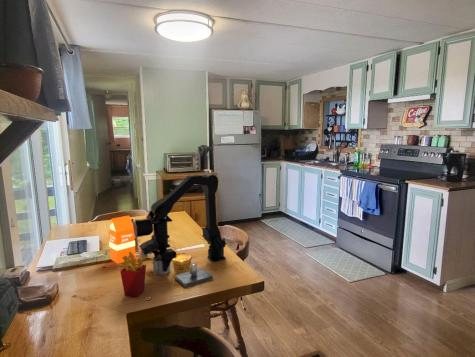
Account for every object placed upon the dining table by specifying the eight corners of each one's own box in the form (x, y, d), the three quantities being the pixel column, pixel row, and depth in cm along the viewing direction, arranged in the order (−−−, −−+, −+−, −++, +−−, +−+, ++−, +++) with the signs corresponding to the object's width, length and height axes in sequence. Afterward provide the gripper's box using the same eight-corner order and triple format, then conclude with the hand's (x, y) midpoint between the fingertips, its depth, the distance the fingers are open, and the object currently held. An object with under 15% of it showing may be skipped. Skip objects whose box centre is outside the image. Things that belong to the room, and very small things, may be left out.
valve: (137, 260, 139) (163, 260, 139) (136, 247, 138) (162, 246, 139) (141, 255, 146) (166, 254, 146) (140, 242, 145) (165, 241, 145)
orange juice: (136, 258, 142) (133, 216, 139) (117, 263, 135) (115, 220, 133) (127, 253, 147) (125, 213, 145) (110, 259, 141) (107, 217, 138)
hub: (166, 266, 132) (166, 253, 131) (172, 272, 126) (172, 258, 126) (151, 270, 128) (150, 257, 127) (157, 276, 123) (156, 262, 122)
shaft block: (202, 271, 127) (201, 257, 127) (212, 279, 120) (212, 264, 119) (175, 278, 121) (174, 264, 120) (184, 287, 113) (184, 272, 112)
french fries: (148, 290, 111) (146, 251, 110) (135, 301, 103) (133, 260, 102) (126, 287, 113) (124, 249, 112) (113, 299, 105) (110, 257, 104)
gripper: (134, 230, 128) (136, 265, 130) (148, 242, 113) (150, 282, 115) (159, 226, 134) (161, 259, 136) (176, 237, 119) (177, 274, 121)
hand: (162, 268), depth 127 cm, fingers closed on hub, 7 cm apart
